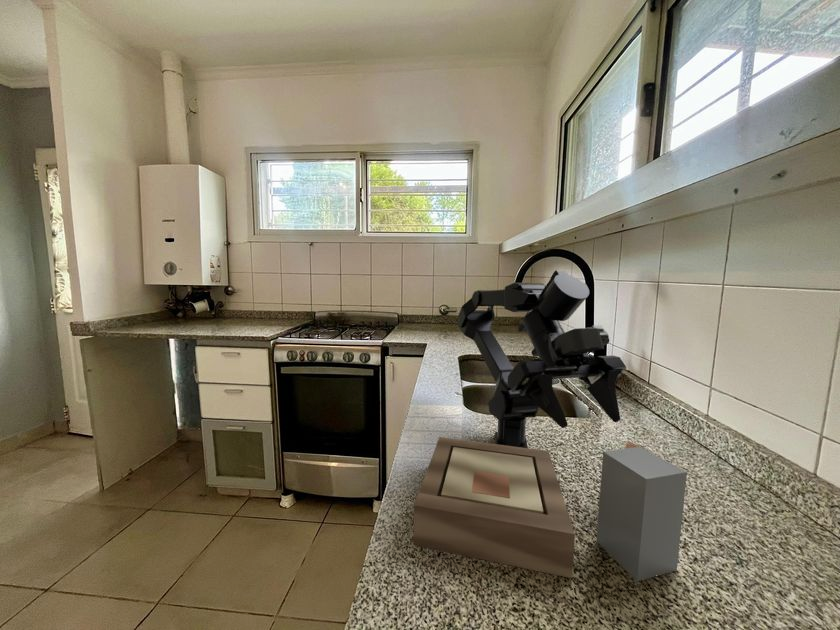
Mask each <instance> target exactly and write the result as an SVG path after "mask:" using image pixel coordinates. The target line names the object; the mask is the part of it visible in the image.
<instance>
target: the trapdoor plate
mask: <svg viewBox="0 0 840 630" xmlns="http://www.w3.org/2000/svg"><path fill="white" fill-rule="evenodd" d="M441 497H446V498H452V499H458V500H463V501H469V502H475V503H481V504H487V505H493V506H498V507H504V508H510V509H516V510H522V511H528V512H534V513H539V514H543V507H542V502H541V498H540V493H539V488H538V483H537V479H536V474H535V469H534V464H533V459H532V458H531V457H524V456H516V455H509V454H501V453H494V452H486V451H479V450H472V449H464V448H457V447H453V451H452V455H451V459H450V462H449V466H448V470H447V474H446V478H445V481H444V485H443V489H442V493H441Z"/></svg>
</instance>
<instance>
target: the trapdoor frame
mask: <svg viewBox="0 0 840 630" xmlns="http://www.w3.org/2000/svg"><path fill="white" fill-rule="evenodd" d="M453 447H457V448H464V449H472V450H479V451H486V452H494V453H501V454H509V455H516V456H524V457H531V458H532V459H533V464H534V469H535V474H536V479H537V483H538V488H539V493H540V498H541V502H542V507H543V514H539V513H534V512H528V511H522V510H516V509H510V508H504V507H498V506H493V505H487V504H481V503H475V502H469V501H463V500H458V499H452V498H446V497H441V493H442V489H443V485H444V481H445V478H446V474H447V470H448V466H449V462H450V459H451V455H452V451H453ZM566 504H567V503H566V502H565V498H564V495H563V492H562V489H561V486H560V484H559V479H558V477H557V473H556V471H555V467H554V462H553V461H552V457H551V454H550V451H549V450H543V449H535V448H521V447H513V446H506V445H498V444H495V443H488V442H481V441H475V440H466V439H465V440H464V439H458V438H452V437H451V438H450V437H441V436H439V438H438V439H437V443H436V445H435V447H434V451H433V453H432V457H431V459H430V461H429V465H428V467H427V470H426V472H425V474H424V477H423V480H422V483H421V486H420V489H419V491H418V493H417V496H416V499H415V502H414V505H413V544H412V545H413V546H415V547H421V548H425V549H426V548H427V549H429V550H435V551H440V552H444V553H445V552H446V553H450V554H454V555H459V556H464V557H469V558H473V559H474V558H475V559H478V560H482V561H483V560H484V561H487V562H488V561H489V562H493V563H498V564H502V565H507V566H512V567H517V568H522V569H526V570H530V571H536V572H539V573H540V572H541V573H546V574H550V575H555V576H560V577H564V578H570V579H573V569H574V567H573V566H574V553H575V552H574V551H575V540H576V533H575V530H574V527H573V524H572V521H571V517H570V515H569V511H568V508H567V505H566Z"/></svg>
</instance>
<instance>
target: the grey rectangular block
mask: <svg viewBox="0 0 840 630" xmlns="http://www.w3.org/2000/svg"><path fill="white" fill-rule="evenodd" d="M687 475H688V472H687V471H686V470H685V469H682V468H680V467H678V466H676V465H674V464H673V463H671V462H669V461H667V460H665V459H664V458H661V457H660V456H658V455H657V454H654V453H653V452H650V451H648V450H647V449H646V448H645V449H643V448H641V447H634V448H627V449H624V448H620V449H615V450H606V451H602V464H601V475H600V477H601V478H600V489H599V491H600V492H599V499H598V500H599V503H598V515H597V527H596V528H597V530H596V538H595V539H596V540H595V541H596V543H598V545H599V546H601V548H602V549H603V550H604V551H605V552H606V553H607V554H609V556H610V557H612V558H613V560H615V561H616V563H618V565H620V567H622V569H624V571H626V573H628V575H630V576H631V577H632V578H633V579H634V580H635V581H636V582H637V581H638V582H641V580H642V581H644V580H643V579H645V580H648V579H647V578H649V579H652V577H653V578H655V577H654V576H656V575H660V574H663V575H666V574H665V573H667V574H670V573H669V572H671V573H673V571H674V572H677V571H678V562H679V555H680V554H679V552H680V544H681V543H680V542H681V532H682V523H683V516H684V515H683V513H684V506H685V505H684V504H685V496H686V488H687V487H686V486H687ZM676 570H677V571H676ZM660 576H661V575H660ZM656 577H657V576H656Z"/></svg>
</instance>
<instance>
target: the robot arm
mask: <svg viewBox="0 0 840 630" xmlns="http://www.w3.org/2000/svg"><path fill="white" fill-rule="evenodd" d="M589 295H590V289H589V287H588V285H587V284H586V282H582V281H581V280H580V279H579V278H577V277H575V276H573V275H570V274H569V273H568V271H566V270H559V269H556V270H554V272H553V273H552V275H551V276H550V278H549V280H548V282H547V283H546V284H544V283H541V282H540V283H539V282H537V283H536V282H512V283H510V284H508V285H506V286H504V288H503V289H494V290H493V289H492V290H491V289H490V290H488V289H486V290H483V289H482V290H481V289H478V290H475V291H473V293H472V296H471V298H470V299H469V300H467V301H466V302H465V303H463V304H462V306H461V307H460V310H459V313H458V315H457V317H456V318H457V319H456V323H457V326H458V328H459V330H460V332H461V333H462V334H463V335H464V336H465V337H467V338H468V339H470V340H472V341H473V342H474V343H475V345H476V347H477V349H478V351H479V353H480V355H481V356H482V358H483V360H484V363H485V364H486V367H487V368H488V370H489V371H490V373H491V376H492V377H493V379H494V382H495V386H494V392H493V397H491V399H490V400H489V401H488V404H487V405H488V412H489V414H491V415H492V416H493V417H494V418H495V419H496V420H497V431H495V432H494V433H495V435H494V437H495V438H494V441H495V442H494V444H498V445H506V446H513V447H521V448H528V442H527V438H526V424H527V418H536V417H537V414H538V411H539V408H540V410H542V411H543V412H544V413H545V414H546V415H548V417H550V418H551V419H552V421H554V422H555V423H556V424H557V425H558V426H559V427H560V428H561V429H565V428H567V427H568V426H569V424H568V422H567V418H566V414H565V413H564V411H563V408H562V406H561V403H560V402H559V399H558V397H557V395H556V393H555V391H554V389H553V380H560V379H561V380H562V379H574V378H582V380H583V382H584V383H585V384H586V385H588V387H587V388H586V390H587V391H588V392H589V394H590V395H591V396H592V397H593V398H594V400H595V401H596V402H597V404H598V405H599V406H600V408H601V409H602V410H603V412H604V413H605V414H606V415H607V417H609V418H610V420H612V422H614V423H618V422H619V421H621V414H620V410H619V409H620V408H619V404H618V398H617V392H616V391H617V389H616V384H617V380H618V378H620V376H622V375H623V372H624V371H625V370H627V366H626V364H625V363H624V362H623V360H622V358H621V357H620V356H616V355H598V356H596V357H594V358H593V359H592V360H591V361H590V362H589V363H588V364H584V365H583V363H582V362H583V361H586V360H587V359H588V358H589V357H590V355H589V353H591V352H594V351H595V352H596V351H597V350H598V351H601V350H602V351H603V350H604V349H605V347H604V346H607V345H609V343H610V337H609V334H608V332H607V331H606V330H605V328H604V327H603V325H601V324H598V325H597V324H596V325H595V324H594V325H591V327H579V328H574V329H570V330H568V331H564V328H563V327H562V325H561V323H560V322H564V321H567V320H569V319H570V318H571V317H572V316H573V314H574V313H575V312H576V311H577V310H578V308H579V307H580V306H581V305H582V304H583V303H584V301H585V300H586V299H587V298H588V297H589ZM478 307H488V308H487V309H486V310H485V309H478ZM494 307H504V310H506V311H508V312H509V311H510V312H512V313H526V314H525V315H524V316H523V317H522V318H520V322H519V325H518V330H517V331H518V332H519V333H527V335H528V337H529V339H530V341H531V344H532V346H533V349H532V350H531V355H532V357H533V358H530V359H528V358H527V359H520V360H519V361H518V362H517V364H516V365H515V366H513V365H512V363H511V361H510V360H509V358H508V356H507V355H506V353H505V351H504V350H503V348H502V346H501V344H500V343H499V341H498V340H497V338H496V337H495V335H494V333H493V332H492V325H493V320H494V318H495V316H496V315H495V311H494ZM477 309H478V310H477ZM534 357H538V358H534Z"/></svg>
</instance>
